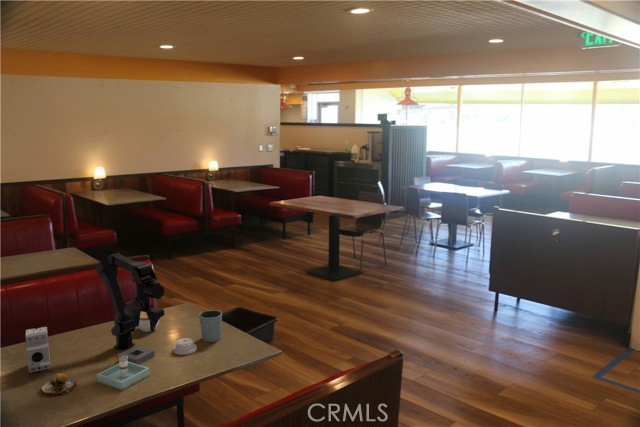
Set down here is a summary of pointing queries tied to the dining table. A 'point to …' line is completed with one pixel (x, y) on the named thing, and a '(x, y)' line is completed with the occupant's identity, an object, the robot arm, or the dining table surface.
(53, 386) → the plate of food
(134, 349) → the socket block
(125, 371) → the cylinder
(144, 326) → the lidded jar
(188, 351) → the mechanical component
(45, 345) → the circuit breaker
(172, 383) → the dining table surface
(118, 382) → the parts tray
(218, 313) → the blue-grey cup
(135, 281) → the robot arm
